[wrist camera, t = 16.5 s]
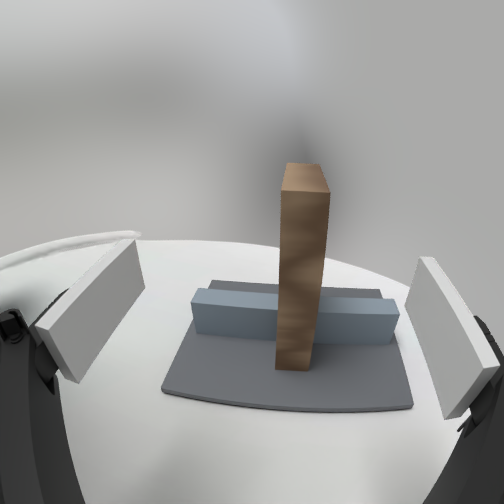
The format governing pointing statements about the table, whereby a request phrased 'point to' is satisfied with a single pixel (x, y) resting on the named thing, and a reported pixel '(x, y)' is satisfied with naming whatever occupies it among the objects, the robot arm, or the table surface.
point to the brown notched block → (300, 263)
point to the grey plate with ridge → (264, 352)
